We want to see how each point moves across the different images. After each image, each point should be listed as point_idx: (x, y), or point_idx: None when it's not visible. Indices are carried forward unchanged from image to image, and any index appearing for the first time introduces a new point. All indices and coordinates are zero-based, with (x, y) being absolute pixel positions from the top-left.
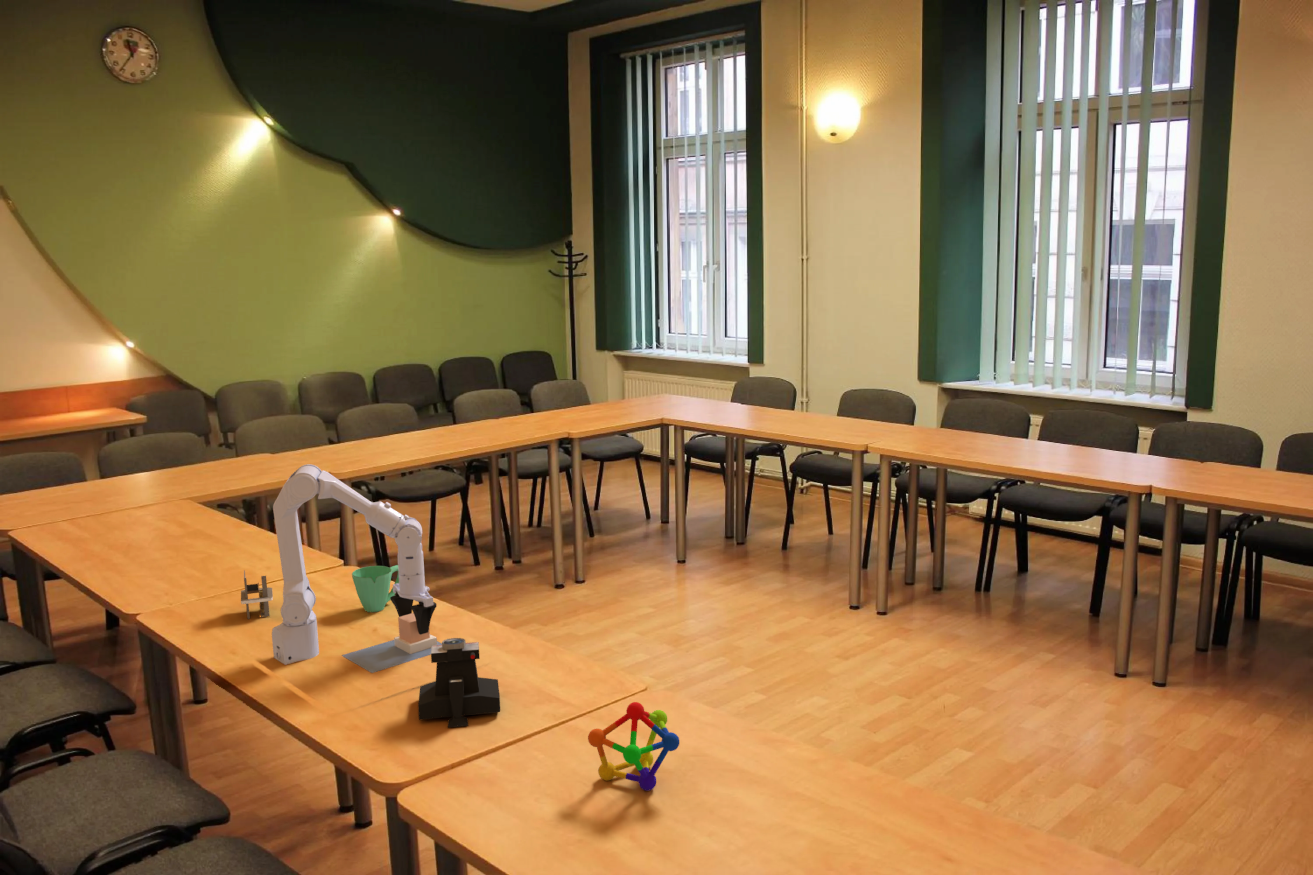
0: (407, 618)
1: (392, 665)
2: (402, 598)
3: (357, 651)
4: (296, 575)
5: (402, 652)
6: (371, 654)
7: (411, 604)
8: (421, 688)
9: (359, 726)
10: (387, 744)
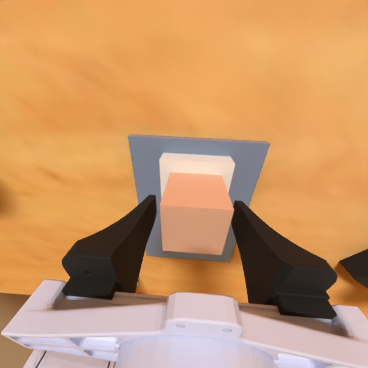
0: (190, 244)
1: (232, 241)
2: (128, 284)
3: (147, 242)
4: None
5: None
6: None
7: (135, 230)
8: (363, 283)
9: None
10: (361, 306)
